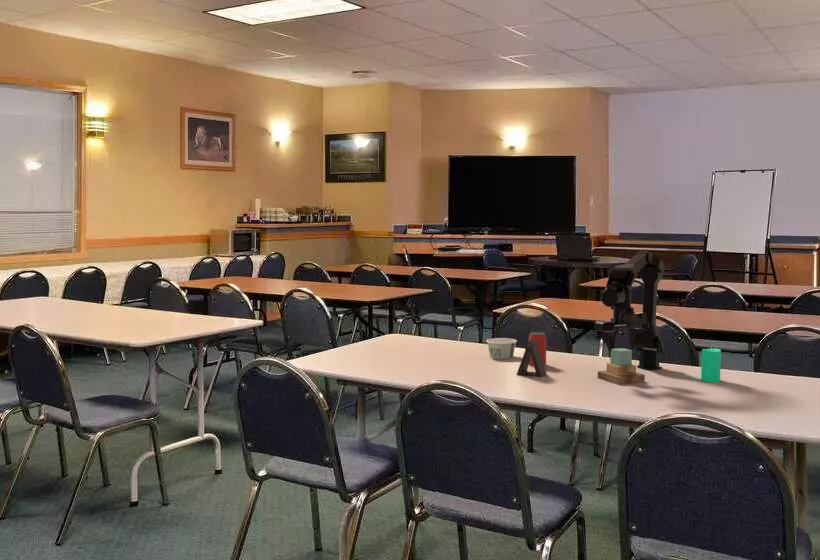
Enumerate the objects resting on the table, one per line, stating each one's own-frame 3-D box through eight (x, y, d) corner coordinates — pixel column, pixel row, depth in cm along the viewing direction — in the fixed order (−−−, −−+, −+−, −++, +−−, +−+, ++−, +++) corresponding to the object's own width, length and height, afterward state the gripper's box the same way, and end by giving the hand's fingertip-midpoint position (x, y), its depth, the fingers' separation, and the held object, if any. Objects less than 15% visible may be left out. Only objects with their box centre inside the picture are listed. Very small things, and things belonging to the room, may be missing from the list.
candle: (719, 378, 268) (720, 344, 267) (720, 382, 262) (721, 347, 261) (700, 377, 270) (701, 343, 269) (701, 381, 264) (702, 346, 263)
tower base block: (623, 377, 275) (623, 368, 275) (644, 383, 265) (644, 374, 264) (597, 379, 271) (597, 371, 270) (617, 386, 260) (617, 377, 260)
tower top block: (624, 370, 272) (624, 361, 271) (635, 374, 265) (636, 365, 265) (606, 371, 270) (606, 363, 269) (617, 375, 263) (617, 366, 263)
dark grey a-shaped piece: (546, 374, 278) (546, 340, 277) (541, 377, 272) (541, 343, 271) (522, 371, 282) (522, 338, 281) (516, 375, 276) (516, 341, 275)
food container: (521, 355, 313) (521, 339, 313) (509, 360, 303) (509, 343, 302) (494, 353, 319) (494, 337, 319) (481, 357, 309) (481, 341, 308)
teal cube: (622, 362, 270) (622, 348, 270) (631, 365, 266) (632, 350, 265) (610, 363, 269) (610, 349, 268) (619, 366, 264) (619, 351, 264)
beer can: (545, 366, 290) (546, 334, 289) (527, 366, 292) (528, 334, 291) (546, 363, 297) (546, 331, 296) (528, 362, 298) (529, 331, 297)
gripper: (614, 308, 254) (613, 355, 256) (660, 305, 261) (659, 351, 263) (593, 304, 264) (592, 350, 266) (638, 301, 272) (637, 346, 273)
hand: (621, 349), depth 267 cm, fingers open, 9 cm apart
